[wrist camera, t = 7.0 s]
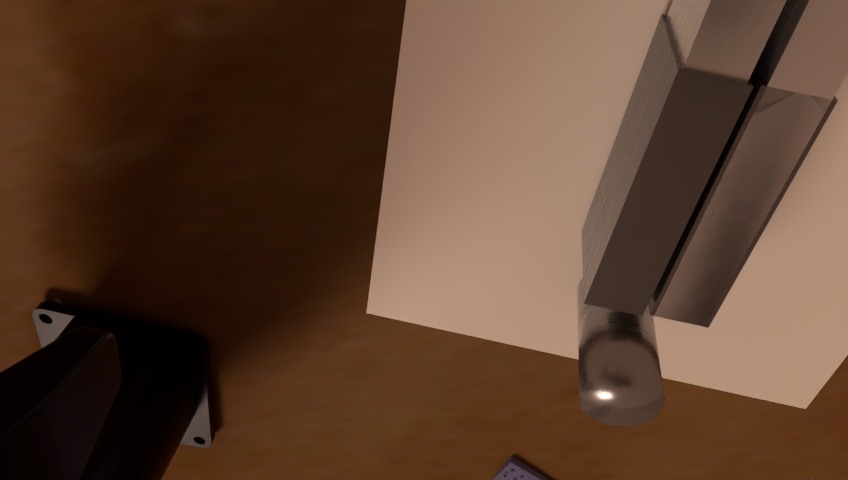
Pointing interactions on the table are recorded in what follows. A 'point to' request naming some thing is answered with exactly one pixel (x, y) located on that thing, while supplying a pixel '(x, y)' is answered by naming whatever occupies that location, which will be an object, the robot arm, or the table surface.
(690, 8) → the tongs moving arm
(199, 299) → the table surface
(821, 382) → the cutting board
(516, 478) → the pair of lilac bars
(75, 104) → the table surface
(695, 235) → the tongs fixed arm
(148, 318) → the table surface
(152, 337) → the robot arm
